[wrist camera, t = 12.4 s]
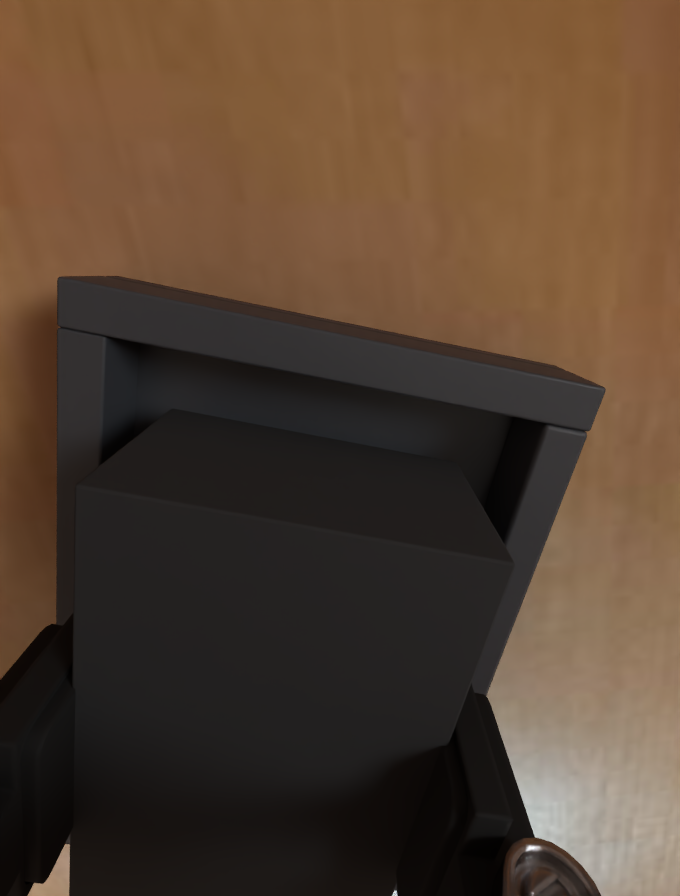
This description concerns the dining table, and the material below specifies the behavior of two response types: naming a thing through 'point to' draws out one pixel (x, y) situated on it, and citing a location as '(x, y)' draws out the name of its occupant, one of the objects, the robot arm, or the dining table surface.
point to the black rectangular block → (267, 657)
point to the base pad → (315, 404)
